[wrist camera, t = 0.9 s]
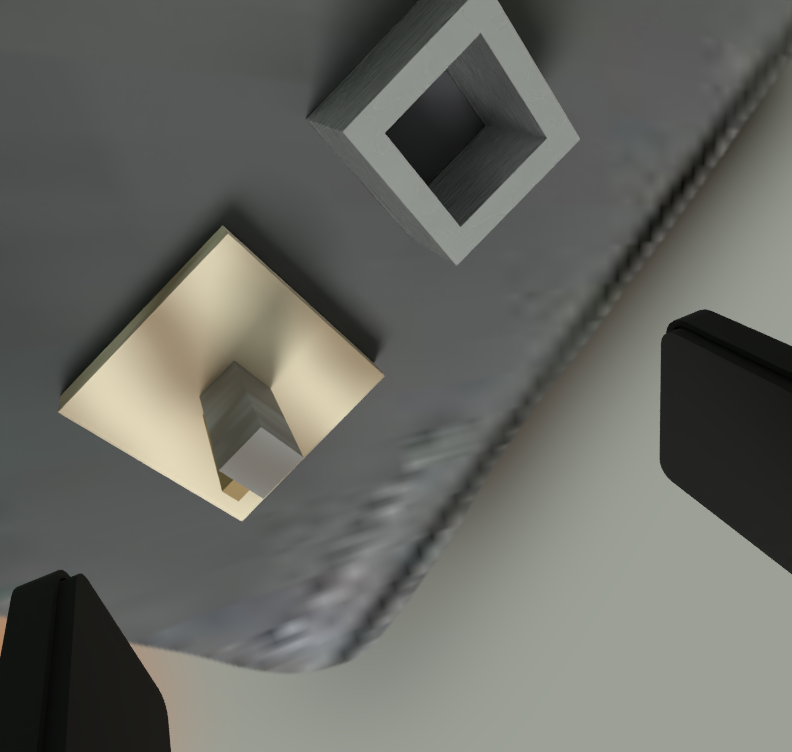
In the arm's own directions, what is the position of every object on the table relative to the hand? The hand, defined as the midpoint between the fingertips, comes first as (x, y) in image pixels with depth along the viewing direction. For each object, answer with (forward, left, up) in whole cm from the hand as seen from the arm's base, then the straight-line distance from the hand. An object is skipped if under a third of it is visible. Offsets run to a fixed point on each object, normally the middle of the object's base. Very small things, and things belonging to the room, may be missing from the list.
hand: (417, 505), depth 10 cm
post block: (+5, +5, -21) cm, 22 cm away
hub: (-9, +3, -21) cm, 23 cm away
